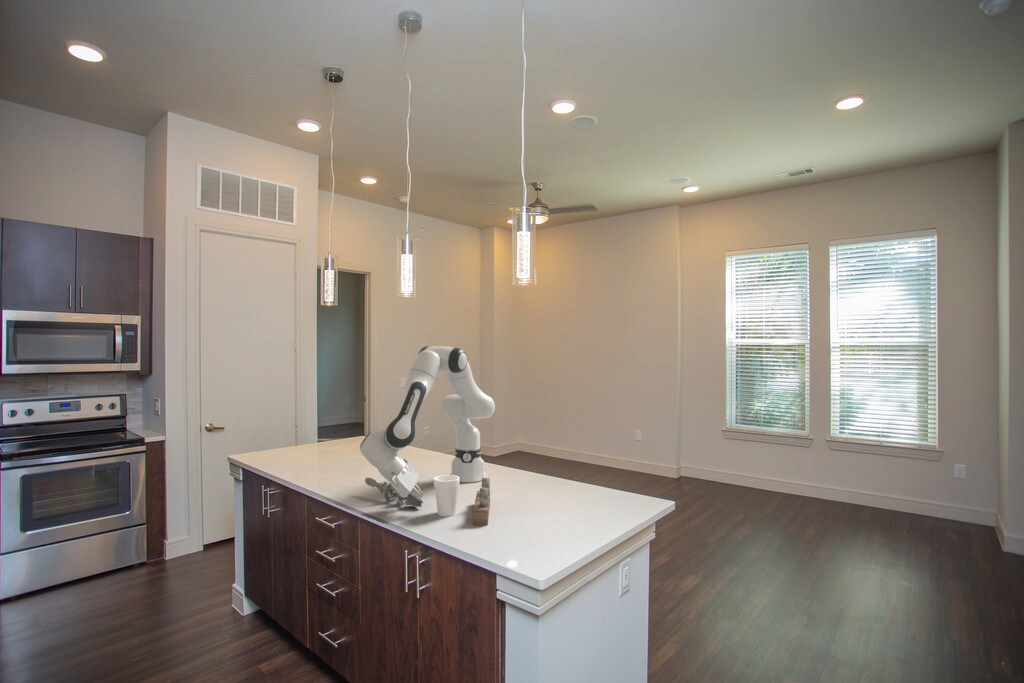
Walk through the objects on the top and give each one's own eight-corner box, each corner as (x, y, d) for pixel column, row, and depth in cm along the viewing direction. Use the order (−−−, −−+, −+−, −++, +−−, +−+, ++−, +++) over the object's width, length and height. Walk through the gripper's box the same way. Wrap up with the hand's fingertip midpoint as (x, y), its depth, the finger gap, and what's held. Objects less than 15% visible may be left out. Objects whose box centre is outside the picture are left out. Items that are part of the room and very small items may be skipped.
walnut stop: (477, 503, 199) (477, 475, 199) (490, 503, 199) (490, 475, 199) (473, 525, 175) (473, 492, 175) (487, 525, 175) (487, 492, 175)
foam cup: (464, 512, 188) (464, 477, 188) (449, 519, 180) (449, 482, 180) (444, 508, 193) (444, 473, 193) (428, 515, 185) (428, 479, 185)
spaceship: (375, 472, 216) (361, 468, 210) (432, 495, 195) (418, 492, 189) (368, 490, 214) (353, 487, 208) (425, 516, 193) (410, 513, 187)
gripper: (394, 470, 176) (422, 499, 176) (406, 457, 197) (431, 483, 197) (381, 483, 176) (409, 512, 176) (394, 469, 197) (420, 494, 196)
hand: (421, 496), depth 186 cm, fingers closed
